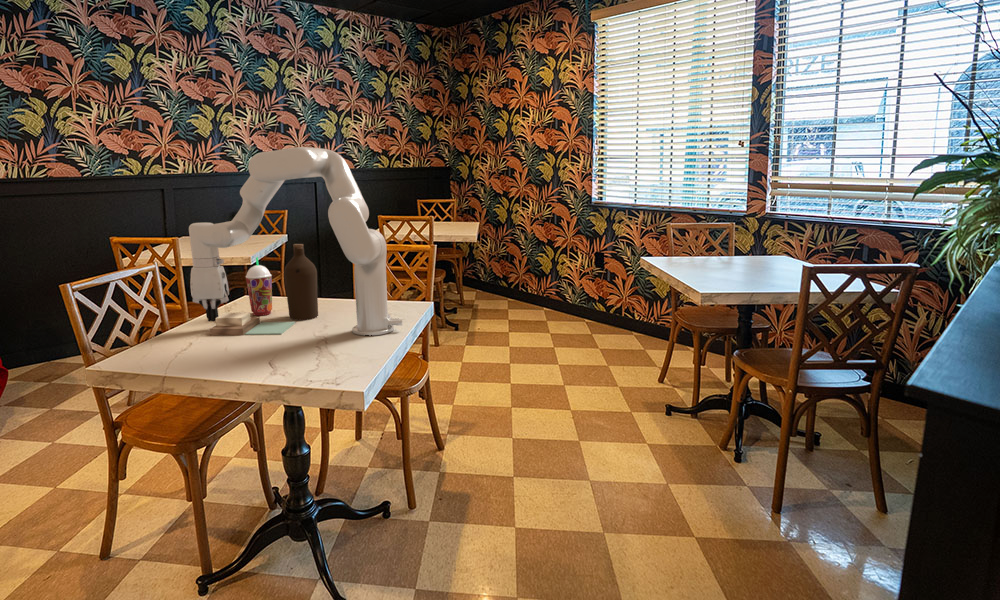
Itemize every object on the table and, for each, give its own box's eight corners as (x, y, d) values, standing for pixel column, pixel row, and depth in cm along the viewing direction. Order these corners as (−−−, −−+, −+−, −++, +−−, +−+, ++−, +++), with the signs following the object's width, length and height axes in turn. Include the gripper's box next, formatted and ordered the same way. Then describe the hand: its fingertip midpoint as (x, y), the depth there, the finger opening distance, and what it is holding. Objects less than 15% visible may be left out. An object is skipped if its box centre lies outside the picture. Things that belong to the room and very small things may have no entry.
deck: (260, 323, 196) (259, 317, 195) (243, 334, 182) (242, 328, 182) (229, 323, 196) (228, 317, 195) (210, 335, 182) (209, 328, 181)
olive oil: (325, 317, 203) (320, 244, 198) (294, 322, 196) (288, 247, 191) (312, 311, 211) (307, 241, 206) (282, 316, 205) (276, 244, 199)
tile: (250, 320, 192) (250, 312, 191) (242, 325, 185) (241, 317, 185) (225, 320, 192) (225, 312, 191) (216, 326, 185) (215, 318, 184)
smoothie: (266, 317, 204) (261, 259, 199) (244, 316, 205) (238, 258, 201) (279, 311, 212) (274, 255, 207) (257, 310, 213) (252, 255, 209)
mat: (295, 322, 196) (295, 321, 196) (281, 334, 182) (281, 333, 182) (261, 323, 196) (261, 322, 196) (245, 334, 182) (244, 333, 182)
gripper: (235, 260, 188) (241, 317, 192) (187, 261, 188) (194, 317, 191) (225, 264, 181) (232, 323, 185) (175, 265, 180) (183, 323, 184)
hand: (212, 320), depth 188 cm, fingers closed
